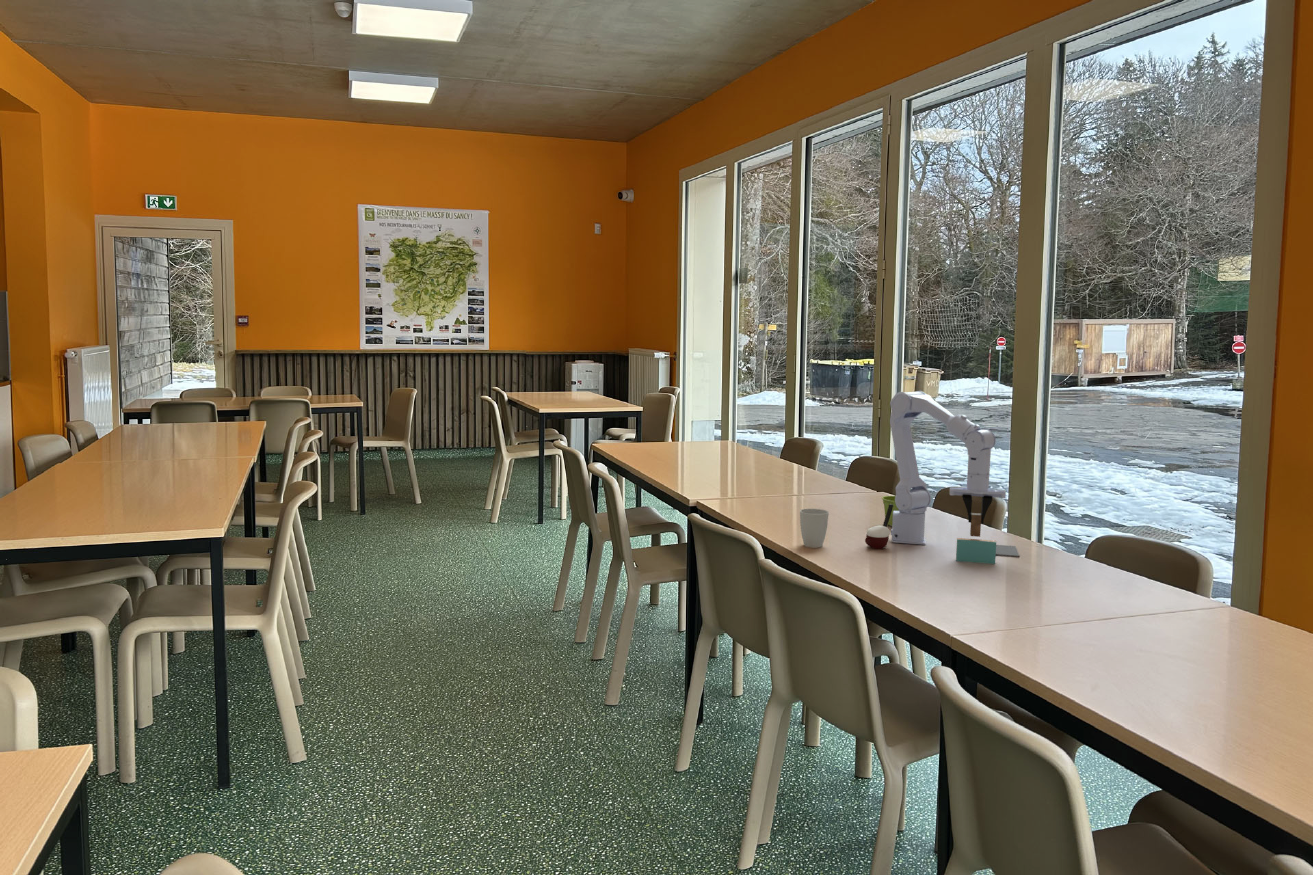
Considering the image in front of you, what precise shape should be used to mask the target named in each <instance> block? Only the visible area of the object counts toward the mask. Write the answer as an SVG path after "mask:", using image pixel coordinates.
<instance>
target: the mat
mask: <svg viewBox="0 0 1313 875" xmlns="http://www.w3.org/2000/svg"><path fill="white" fill-rule="evenodd" d="M996 556H999V557H1001V556H1002V557H1012V558H1013V557H1014V558H1020V554H1019V551H1018V549H1017V547H1016V545H1004V544H1003V545H1002V544H996Z"/></svg>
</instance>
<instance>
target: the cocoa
mask: <svg viewBox="0 0 1313 875" xmlns="http://www.w3.org/2000/svg"><path fill="white" fill-rule="evenodd" d="M892 509H893V504H889V507H888V510H887V513H886V517H885V516H884V521H883V524H882V525H874V526H872V527H870V528H868V529H867V530H866V537H865V538H864V542H865V544H866V545H867V546H868V547H870V548H871V549H874V550H875V549H876V550H882V549H884V548H886V547H887V546H888V543H889V537H890V535H891V530H890V529H889V527H888V526H889V525H888V522H889V519H890V515H891V512H892Z"/></svg>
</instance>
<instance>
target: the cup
mask: <svg viewBox="0 0 1313 875" xmlns="http://www.w3.org/2000/svg"><path fill="white" fill-rule="evenodd" d="M829 515H830V514H829V511H828V510H826V509H821V508H803V509H800V510H799V518H800V519H799V524H800V526H799V527H800V533H801V538H802V542H803V546H804V547H806V548H813V549H815V548H823V545H824V542H825V538H826V535H827V530H828V525H829V523H828V522H829Z"/></svg>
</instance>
